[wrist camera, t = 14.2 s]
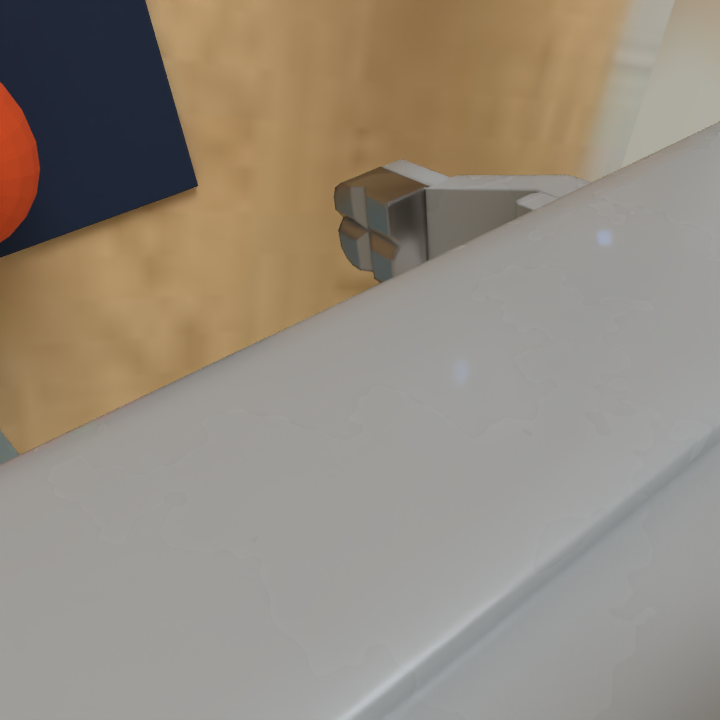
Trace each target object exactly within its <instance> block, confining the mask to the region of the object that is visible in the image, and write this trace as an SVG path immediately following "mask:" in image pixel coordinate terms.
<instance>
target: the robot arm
mask: <svg viewBox="0 0 720 720" xmlns="http://www.w3.org/2000/svg"><path fill="white" fill-rule="evenodd" d="M334 202H335V210H336V211H337V212H338V213H339V214H340V215H341V216H342V217H343V219H342V222H341V225H340V227H339V230H338V232H339V237H340V243H341V247H342V249H343V251H344V253H345V255H346V258H347V259H348V260H349V261H350V262H351V264H352V265H353V266H355V267H356V268H358V269H359V270H363V271H373V273H374V279H376V280H377V281H379V282H381V283H380V284H378V285H376V286H374V287H371V288H369V289H367V290H365V291H363V292H361V293H359V294H357V295H355V296H353V297H350V298H348V299H346V300H344V301H342V302H340V303H338V304H336V305H334V306H332V307H329V308H327V309H325V310H323V311H321V312H319V313H317V314H315V315H313V316H311V317H308V318H306V319H304V320H302V321H300V322H298V323H296V324H294V325H292V326H289V327H287V328H285V329H283V330H281V331H279V332H277V333H275V334H273V335H271V336H268V337H266V338H264V339H262V340H260V341H258V342H256V343H254V344H252V345H250V346H247V347H245V348H243V349H241V350H239V351H237V352H235V353H233V354H231V355H229V356H226V357H224V358H222V359H220V360H218V361H216V362H214V363H212V364H210V365H208V366H205V367H203V368H201V369H199V370H197V371H195V372H193V373H191V374H189V375H186V376H184V377H182V378H180V379H178V380H176V381H174V382H172V383H170V384H168V385H165V386H163V387H161V388H159V389H157V390H155V391H153V392H151V393H149V394H147V395H144V396H142V397H140V398H138V399H136V400H134V401H132V402H130V403H128V404H126V405H123V406H121V407H119V408H117V409H115V410H113V411H111V412H109V413H107V414H104V415H102V416H100V417H98V418H96V419H94V420H92V421H90V422H88V423H86V424H83V425H81V426H79V427H77V428H75V429H73V430H71V431H69V432H67V433H65V434H62V435H60V436H58V437H56V438H54V439H52V440H50V441H48V442H46V443H44V444H41V445H39V446H37V447H35V448H33V449H31V450H29V451H27V452H25V453H23V454H20V455H18V456H16V457H14V458H12V459H10V460H8V461H6V462H4V463H1V464H0V720H720V121H719V122H718V123H715V124H713V125H711V126H709V127H707V128H705V129H703V130H701V131H699V132H697V133H695V134H693V135H691V136H688V137H686V138H684V139H682V140H680V141H678V142H676V143H674V144H672V145H670V146H667V147H666V148H663V149H661V150H659V151H657V152H655V153H653V154H651V155H649V156H647V157H644V158H642V159H640V160H639V161H636V162H634V163H632V164H630V165H628V166H626V167H624V168H621V169H619V170H617V171H615V172H613V173H611V174H609V175H607V176H605V177H602V178H600V179H598V180H596V181H594V182H589V181H586V180H583V179H579V178H576V177H573V176H570V175H457V176H454V177H452V178H451V177H448V176H446V175H443V174H440V173H438V172H435V171H432V170H430V169H427V168H424V167H422V166H419V165H416V164H414V163H411V162H408V161H406V160H403V159H402V160H396V161H394V162H392V163H390V164H387V165H385V166H383V167H378V168H376V169H374V170H371V171H369V172H366V173H364V174H362V175H359V176H357V177H354V178H352V179H349V180H347V181H345V182H342V183H340V184H339V185H338V186H336V187H335V192H334Z"/></svg>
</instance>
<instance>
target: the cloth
mask: <svg viewBox="0 0 720 720" xmlns="http://www.w3.org/2000/svg"><path fill="white" fill-rule="evenodd" d="M0 82H1V83H2V84H3V85H4V87H5V88H6V89H7V91H8V92H9V93H10V95H11V96H12V97H13V99H14V100H15V101H16V103H17V104H18V105H19V107H20V108H21V109H22V111H23V113H24V115H25V118H26V120H27V122H28V124H29V127H30V129H31V131H32V134H33V136H34V138H35V141H36V145H37V151H38V158H39V165H40V173H39V180H38V188H37V194H36V197H35V199H34V201H33V203H32V206H31V208H30V210H29V212H28V214H27V217H26V218H25V219H24V220H23V221H22V222H21V224H20V225H19V226H18V227H17V228H16V229H15V231H14V232H13V233H12V234H11V235H10V236H9V237H8V238H6V239H5V240H3V241H2V242H0V257H3V256H6V255H9V254H11V253H14V252H17V251H20V250H22V249H25V248H28V247H31V246H33V245H36V244H39V243H42V242H45V241H47V240H50V239H53V238H56V237H58V236H61V235H64V234H67V233H69V232H72V231H75V230H78V229H81V228H83V227H86V226H89V225H92V224H94V223H97V222H100V221H103V220H105V219H108V218H111V217H114V216H117V215H119V214H122V213H125V212H128V211H130V210H133V209H136V208H139V207H141V206H144V205H147V204H150V203H152V202H155V201H158V200H161V199H164V198H166V197H169V196H172V195H175V194H177V193H180V192H183V191H186V190H188V189H191V188H194V187H197V186H198V184H197V180H196V177H195V173H194V170H193V166H192V163H191V159H190V156H189V152H188V149H187V145H186V142H185V138H184V135H183V131H182V128H181V124H180V121H179V117H178V114H177V110H176V107H175V103H174V100H173V96H172V93H171V89H170V86H169V82H168V79H167V75H166V72H165V68H164V65H163V61H162V58H161V54H160V51H159V47H158V44H157V40H156V37H155V33H154V30H153V26H152V23H151V19H150V16H149V12H148V9H147V5H146V2H145V0H0Z"/></svg>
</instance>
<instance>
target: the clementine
mask: <svg viewBox="0 0 720 720" xmlns="http://www.w3.org/2000/svg"><path fill="white" fill-rule="evenodd" d="M39 173H40V165H39V158H38V151H37V145H36V141H35V138H34V136H33V134H32V131H31V129H30V127H29V124H28V122H27V120H26V118H25V115H24V113H23V111H22V109H21V108H20V107H19V105H18V104H17V103H16V101H15V100H14V99H13V97H12V96H11V95H10V93H9V92H8V91H7V89H6V88H5V87H4V85H3V84H2V83H1V82H0V242H2V241H3V240H5V239H6V238H8V237H9V236H10V235H11V234H12V233H13V232H14V231H15V229H16V228H17V227H18V226H19V225H20V224H21V222H22V221H23V220H24V219H25V218H26V217H27V214H28V212H29V210H30V208H31V206H32V203H33V201H34V199H35V197H36V194H37V188H38V180H39Z"/></svg>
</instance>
